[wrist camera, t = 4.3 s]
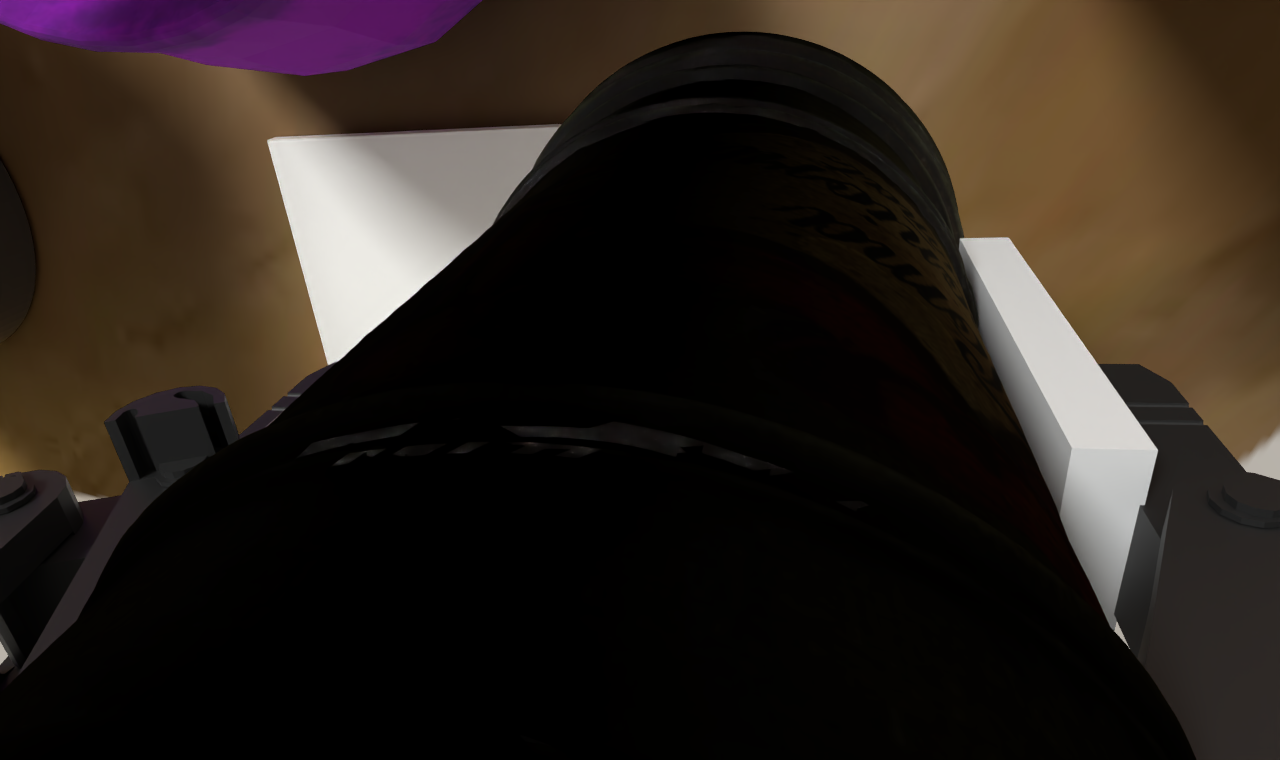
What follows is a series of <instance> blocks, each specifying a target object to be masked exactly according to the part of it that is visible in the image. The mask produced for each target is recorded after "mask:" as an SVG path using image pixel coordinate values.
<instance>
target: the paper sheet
mask: <svg viewBox="0 0 1280 760" xmlns="http://www.w3.org/2000/svg"><path fill="white" fill-rule="evenodd" d="M561 125H562V124H548V125H526V126H505V127H483V128H461V129H440V130H418V131H396V132H375V133H353V134H331V135H310V136H288V137H275V138H272V139H269V140H267V142H268V145H269V149H270V153H271V156H272V160H273V164H274V167H275V171H276V175H277V179H278V182H279V186H280V190H281V193H282V197H283V201H284V204H285V208H286V212H287V215H288V219H289V223H290V226H291V230H292V234H293V237H294V241H295V245H296V248H297V252H298V256H299V259H300V263H301V267H302V270H303V274H304V278H305V282H306V285H307V289H308V293H309V296H310V300H311V304H312V307H313V311H314V315H315V318H316V322H317V326H318V329H319V333H320V337H321V340H322V344H323V348H324V351H325V355H326V359H327V362H328V365H330V364H332V363H334V362H338V361H339V360H340V359H341V358H343V357H344V356H345V355H346V354H347V353H348V352H349V351H350V350H351V349H352V348H353V347H355V346H356V345H357V344H358V343H359V342H360V341H361V340H362V339H363V338H364V337H365V336H366V335H367V334H368V333H369V332H371V331H372V330H373V329H374V328H376V327H377V326H378V325H379V324H380V323H381V322H383V321H384V320H385V319H386V318H387V317H388V316H390V315H391V314H392V313H393V312H394V311H395V310H396V309H397V308H399V307H400V306H401V305H402V304H403V303H405V302H406V301H407V300H408V299H409V298H410V297H411V296H412V295H413V294H415V293H416V292H417V291H418V290H419V289H420V288H421V287H422V286H424V285H425V284H426V283H427V282H428V281H429V280H430V279H431V278H432V277H434V276H435V275H436V274H437V273H438V272H439V271H440V270H441V269H442V268H444V267H445V266H446V265H447V264H448V263H449V262H450V261H451V260H452V259H454V258H455V257H456V256H457V255H458V254H459V253H460V252H461V251H462V250H464V249H466V248H467V247H468V246H470V245H471V244H472V243H473V242H475V241H476V240H477V239H478V238H479V237H480V236H481V235H482V234H483V233H484V232H485V231H486V230H487V229H488V228H490V227H491V226H492V225H493V223H494V221H495V219H496V217H497V215H498V213H499V212H500V210H501V209H502V207H503V206H504V204H505V203H506V201H507V200H508V198H509V197H510V195H511V194H512V193H513V191H514V190H515V188H516V187H517V186H518V185H519V183H520V182H521V181H522V180H523V179H524V178H525V176H526V175H527V174H528V173H529V172H530V171H531V170H532V169H533V167H534V164H535V162H536V160H537V159H538V157H539V155H540V154H541V152H542V150H543V149H544V147H545V146H546V144H547V143H548V142H549V140H550V139H551V137H552V136H553V135H554V133H555V132H556V131H557V129H558V128H559V127H560V126H561Z"/></svg>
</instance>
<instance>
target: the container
mask: <svg viewBox="0 0 1280 760" xmlns="http://www.w3.org/2000/svg"><path fill="white" fill-rule="evenodd" d="M960 238H964V235H963V230H962V226H961V222H960V218H959V213H958V207H957V203H956V198H955V194H954V190H953V186H952V183H951V179H950V176H949V173H948V171H947V168H946V165H945V163H944V161H943V158H942V156H941V154H940V152H939V150H938V148H937V146H936V144H935V143H934V141H933V139H932V137H931V136H930V134H929V132H928V131H927V129H926V128H925V126H924V125H923V123H922V122H921V121H920V119H919V118H918V117H917V115H916V114H915V113H914V112H913V111H912V109H911V108H910V107H909V106H908V105H907V104H906V103H905V102H904V101H903V100H902V99H901V98H900V96H899V95H898V94H897V93H896V92H895V91H894V90H893V89H892V88H890V87H889V86H888V85H887V84H886V83H885V82H884V81H882V80H881V79H880V78H879V77H877V76H876V75H875V74H873V73H872V72H870V71H869V70H868V69H866V68H864V67H863V66H861V65H860V64H858V63H856V62H855V61H853V60H851V59H849V58H848V57H846V56H844V55H842V54H840V53H838V52H836V51H833V50H831V49H828V48H826V47H823V46H821V45H818V44H815V43H812V42H809V41H805V40H802V39H798V38H794V37H789V36H784V35H779V34H772V33H763V32H725V33H715V34H707V35H702V36H697V37H692V38H688V39H685V40H681V41H678V42H675V43H672V44H669V45H667V46H664V47H661V48H659V49H656V50H654V51H652V52H650V53H648V54H645V55H643V56H641V57H639V58H638V59H636V60H634V61H632V62H630V63H629V64H627V65H625V66H624V67H622V68H621V69H619V70H618V71H616V72H615V73H614V74H612V75H611V76H610V77H608V78H607V79H606V80H604V81H603V82H602V83H601V84H600V85H598V86H597V87H596V88H595V89H594V90H593V91H592V92H591V93H590V94H589V95H588V96H587V97H586V98H585V99H584V100H583V101H582V102H581V103H580V104H579V106H578V107H577V108H576V109H575V111H574V112H573V113H572V114H571V115H570V116H569V117H568V118H567V119H566V120H565V121H564V123H563V124H562V125H561V126H560V127H559V128H558V129H557V131H556V132H555V133H554V135H553V136H552V137H551V139H550V140H549V142H548V143H547V144H546V146H545V147H544V149H543V150H542V152H541V154H540V155H539V157H538V159H537V160H536V162H535V164H534V167H533V169H532V170H531V171H530V172H529V173H528V174H527V175H526V176H525V178H524V179H523V180H522V181H521V182H520V183H519V185H518V186H517V187H516V188H515V190H514V191H513V193H512V194H511V195H510V197H509V198H508V200H507V201H506V203H505V204H504V206H503V207H502V209H501V210H500V212H499V213H498V215H497V217H496V219H495V221H494V223H493V225H492V226H491V227H490V228H488V229H487V230H486V231H485V232H484V233H483V234H482V235H481V236H480V237H479V238H478V239H477V240H476V241H475V242H473V243H472V244H471V245H470V246H468V247H467V248H466V249H465V250H463V251H462V252H461V253H460V254H459V255H458V256H457V257H456V258H455V259H454V260H453V261H452V262H451V263H450V264H449V265H448V266H446V267H445V268H444V269H443V270H442V271H440V272H439V273H438V274H437V275H436V276H435V277H434V278H432V279H431V280H429V281H428V282H427V283H426V284H425V285H424V286H423V287H422V288H421V289H420V290H419V291H418V292H417V293H415V294H414V295H413V296H412V297H411V298H410V299H409V300H407V301H406V302H405V303H404V304H402V305H401V306H400V307H399V308H397V309H396V310H395V311H394V312H393V313H392V314H391V315H390V316H388V317H387V318H386V319H385V320H384V321H383V322H381V323H380V324H379V325H378V326H377V327H376V328H374V329H373V330H372V331H371V332H369V333H368V334H367V335H366V336H365V337H364V338H363V339H362V340H361V341H360V342H359V343H358V344H357V345H356V346H355V347H353V348H352V349H351V350H350V351H349V352H348V353H347V354H346V355H345V356H344V357H343V358H341V359H340V360H339V361H338V362H337V363H335V364H334V365H333V366H332V367H331V368H330V369H329V370H328V371H326V372H325V373H324V374H323V375H322V376H321V377H320V378H318V379H317V380H316V381H315V382H314V383H313V384H312V385H311V386H310V387H309V388H308V389H307V390H305V391H304V392H303V393H302V394H301V395H300V396H299V397H298V398H297V399H296V400H295V401H294V402H292V403H291V404H290V405H289V406H288V407H287V408H286V409H285V410H284V411H283V412H282V413H281V414H280V415H279V416H278V417H277V418H276V419H275V420H274V421H273V422H271V423H270V424H269V425H268V426H267V427H265V428H263V429H260V430H258V431H256V432H253V433H251V434H249V435H247V436H245V437H243V438H241V439H239V440H237V441H235V442H233V443H232V444H230V445H229V446H227V447H225V448H224V449H222V450H220V451H219V452H217V453H216V454H214V455H212V456H211V457H209V458H207V459H206V460H204V461H203V462H201V463H200V464H198V465H197V466H196V467H194V468H193V469H192V470H190V471H189V472H188V473H186V474H185V475H184V476H182V477H181V478H180V479H178V480H177V481H176V482H174V483H173V484H172V485H171V486H169V487H168V488H167V489H166V490H165V491H164V492H163V493H162V494H161V495H159V496H158V497H157V498H156V499H155V500H154V501H153V502H152V503H151V504H150V505H149V506H148V507H147V508H146V509H145V510H144V511H143V512H142V513H141V515H140V516H139V517H138V518H137V520H136V521H135V522H134V523H133V524H132V525H131V526H130V527H129V528H128V529H127V531H126V532H125V533H124V535H123V536H122V537H121V539H120V541H119V542H118V544H117V546H116V547H115V549H114V551H113V553H112V554H111V556H110V558H109V560H108V562H107V564H106V565H105V567H104V569H103V571H102V573H101V575H100V577H99V579H98V581H97V584H96V586H95V588H94V590H93V592H92V594H91V595H90V597H89V599H88V601H87V602H86V604H85V606H84V607H83V609H82V611H81V613H80V615H79V617H78V619H77V620H76V621H75V622H74V623H73V624H72V625H71V626H70V627H69V628H68V629H67V630H66V631H65V632H64V633H63V634H62V635H61V636H59V637H58V638H57V639H56V640H55V641H54V642H53V643H52V644H51V645H50V646H49V647H48V648H47V649H46V650H45V651H44V652H43V653H42V654H40V655H39V656H38V657H37V658H36V659H35V660H34V661H33V662H32V663H31V664H29V665H28V666H27V667H26V668H25V669H24V670H23V671H22V672H21V673H20V674H19V675H18V676H17V677H16V678H15V679H14V680H13V681H12V682H11V683H10V684H9V685H8V686H7V687H6V688H5V689H4V690H3V691H1V692H0V760H1197V759H1196V757H1195V755H1194V752H1193V750H1192V748H1191V745H1190V743H1189V741H1188V739H1187V737H1186V735H1185V732H1184V730H1183V728H1182V726H1181V724H1180V723H1179V721H1178V719H1177V717H1176V715H1175V714H1174V712H1173V710H1172V709H1171V707H1170V706H1169V704H1168V703H1167V701H1166V699H1165V698H1164V696H1163V694H1162V693H1161V691H1160V690H1159V688H1158V686H1157V685H1156V683H1155V682H1154V680H1153V679H1152V677H1151V676H1150V674H1149V673H1148V672H1147V670H1146V669H1145V668H1144V667H1143V665H1142V664H1141V663H1140V662H1139V660H1138V659H1137V658H1136V656H1135V655H1134V654H1133V653H1132V651H1131V650H1130V649H1129V647H1128V646H1127V645H1126V644H1125V643H1124V642H1123V641H1122V639H1121V638H1120V637H1119V636H1118V635H1117V634H1116V633H1115V632H1114V630H1113V629H1112V628H1111V627H1110V625H1109V623H1108V621H1107V618H1106V616H1105V614H1104V612H1103V610H1102V607H1101V605H1100V603H1099V601H1098V599H1097V596H1096V594H1095V592H1094V590H1093V588H1092V586H1091V584H1090V582H1089V580H1088V578H1087V576H1086V574H1085V572H1084V570H1083V568H1082V566H1081V564H1080V562H1079V560H1078V558H1077V556H1076V554H1075V552H1074V550H1073V548H1072V546H1071V544H1070V542H1069V540H1068V537H1067V534H1066V531H1065V529H1064V526H1063V524H1062V521H1061V518H1060V516H1059V513H1058V510H1057V507H1056V505H1055V502H1054V500H1053V498H1052V496H1051V493H1050V491H1049V489H1048V487H1047V485H1046V482H1045V480H1044V478H1043V476H1042V474H1041V472H1040V470H1039V467H1038V464H1037V462H1036V460H1035V457H1034V455H1033V453H1032V451H1031V448H1030V446H1029V444H1028V442H1027V440H1026V437H1025V435H1024V432H1023V430H1022V427H1021V425H1020V423H1019V420H1018V418H1017V416H1016V414H1015V412H1014V410H1013V408H1012V406H1011V403H1010V401H1009V399H1008V397H1007V395H1006V392H1005V390H1004V388H1003V385H1002V383H1001V381H1000V379H999V376H998V374H997V372H996V369H995V367H994V365H993V362H992V360H991V357H990V355H989V353H988V352H987V350H986V347H985V345H984V343H983V340H982V338H981V335H980V333H979V330H978V317H977V309H976V303H975V298H974V293H973V290H972V286H971V284H970V282H969V280H968V278H967V275H966V272H965V266H964V263H963V259H962V256H961V254H960V251H959V243H960Z"/></svg>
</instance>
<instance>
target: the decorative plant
mask: <svg viewBox="0 0 1280 760" xmlns="http://www.w3.org/2000/svg"><path fill="white" fill-rule="evenodd" d="M481 1H482V0H0V24H3V25H5V26H8V27H10V28H13V29H15V30H18V31H20V32H23V33H25V34H28V35H30V36H33V37H35V38H38V39H40V40H44V41H48V42H53V43H58V44H63V45H67V46H72V47H77V48H82V49H86V50H91V51H96V52H142V53H162V54H166V55H170V56H174V57H178V58H182V59H186V60H190V61H194V62H198V63H201V64H205V65H212V66H221V67H230V68H239V69H248V70H257V71H266V72H275V73H284V74H293V75H302V76H308V75H315V74H323V73H331V72H339V71H346V70H350V69H353V68H357V67H360V66H363V65H366V64H369V63H372V62H375V61H378V60H381V59H384V58H387V57H390V56H394V55H397V54H400V53H403V52H406V51H409V50H412V49H415V48H418V47H421V46H424V45H428V44H431V43H434V42H436V41H437V40H438V39H439V38H441V37H442V36H443V35H444V34H445V33H446V32H447V31H448V30H450V29H451V28H452V27H453V26H454V25H455V24H456V23H457V22H459V21H460V20H461V19H462V18H463V17H464V16H465V15H466V14H468V13H469V12H470V11H471V10H472V9H473V8H474V7H476V6H477V5H478V4H479V3H480V2H481Z"/></svg>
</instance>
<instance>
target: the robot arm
mask: <svg viewBox="0 0 1280 760" xmlns="http://www.w3.org/2000/svg"><path fill="white" fill-rule="evenodd" d="M464 250H465V249H464ZM462 251H463V250H462ZM462 251H461V252H462ZM959 251H960V254H961V256H962V259H963V263H964V266H965V272H966V275H967V278H968V280H969V282H970V284H971V286H972V290H973V293H974V298H975V303H976V309H977V317H978V330H979V333H980V335H981V338H982V340H983V343H984V345H985V347H986V350H987V352H988V353H989V355H990V357H991V360H992V362H993V365H994V367H995V369H996V372H997V374H998V376H999V379H1000V381H1001V383H1002V385H1003V388H1004V390H1005V392H1006V395H1007V397H1008V399H1009V401H1010V403H1011V406H1012V408H1013V410H1014V412H1015V414H1016V416H1017V418H1018V420H1019V423H1020V425H1021V427H1022V430H1023V432H1024V435H1025V437H1026V440H1027V442H1028V444H1029V446H1030V448H1031V451H1032V453H1033V455H1034V457H1035V460H1036V462H1037V464H1038V467H1039V470H1040V472H1041V474H1042V476H1043V478H1044V480H1045V482H1046V485H1047V487H1048V489H1049V491H1050V493H1051V496H1052V498H1053V500H1054V502H1055V505H1056V507H1057V510H1058V513H1059V516H1060V518H1061V521H1062V524H1063V526H1064V529H1065V531H1066V534H1067V537H1068V540H1069V542H1070V544H1071V546H1072V548H1073V550H1074V552H1075V554H1076V556H1077V558H1078V560H1079V562H1080V564H1081V566H1082V568H1083V570H1084V572H1085V574H1086V576H1087V578H1088V580H1089V582H1090V584H1091V586H1092V588H1093V590H1094V592H1095V594H1096V596H1097V599H1098V601H1099V603H1100V605H1101V607H1102V610H1103V612H1104V614H1105V616H1106V618H1107V621H1108V623H1109V625H1110V627H1111V628H1112V629H1113V630H1115V625H1116V622H1118V624H1119V626H1120V628H1121V631H1122V633H1123V635H1124V637H1125V639H1126V641H1127V643H1128V646H1129V648H1130V650H1131V651H1132V653H1133V654H1134V655H1135V656H1136V658H1137V659H1138V660H1139V662H1140V663H1141V664H1142V665H1143V667H1144V668H1145V669H1146V670H1147V672H1148V673H1149V674H1150V676H1151V677H1152V679H1153V680H1154V682H1155V683H1156V685H1157V686H1158V688H1159V690H1160V691H1161V693H1162V694H1163V696H1164V698H1165V699H1166V701H1167V703H1168V704H1169V706H1170V707H1171V709H1172V710H1173V712H1174V714H1175V715H1176V717H1177V719H1178V721H1179V723H1180V724H1181V726H1182V728H1183V730H1184V732H1185V735H1186V737H1187V739H1188V741H1189V743H1190V745H1191V748H1192V750H1193V752H1194V755H1195V757H1196V759H1197V760H1280V480H1276V479H1273V478H1269V477H1266V476H1262V475H1259V474H1256V473H1249V472H1246V471H1245V470H1244V468H1243V467H1242V466H1241V465H1240V464H1239V462H1238V461H1237V460H1236V459H1235V458H1234V457H1233V455H1232V454H1231V453H1230V452H1229V451H1228V449H1227V448H1226V447H1225V446H1224V445H1223V443H1222V442H1221V441H1220V440H1219V439H1218V438H1217V436H1216V435H1215V434H1214V433H1213V432H1212V430H1211V429H1210V428H1209V427H1208V426H1207V425H1203V420H1202V419H1201V417H1200V416H1199V415H1198V414H1197V413H1196V411H1195V410H1194V409H1193V408H1189V403H1188V402H1187V401H1186V400H1185V398H1184V397H1183V396H1182V395H1181V394H1180V392H1179V391H1178V390H1177V389H1176V388H1175V386H1174V385H1173V384H1172V383H1171V382H1169V381H1168V380H1166V379H1164V378H1162V377H1161V376H1159V375H1157V374H1155V373H1153V372H1152V371H1150V370H1148V369H1146V368H1145V367H1143V366H1141V365H1139V364H1097V363H1096V361H1095V360H1094V358H1093V357H1092V356H1091V354H1090V353H1089V351H1088V350H1087V348H1086V347H1085V346H1084V344H1083V343H1082V341H1081V340H1080V338H1079V337H1078V336H1077V334H1076V333H1075V331H1074V330H1073V328H1072V327H1071V326H1070V324H1069V323H1068V321H1067V320H1066V319H1065V317H1064V316H1063V314H1062V313H1061V311H1060V310H1059V309H1058V307H1057V306H1056V304H1055V303H1054V301H1053V300H1052V299H1051V297H1050V296H1049V294H1048V293H1047V291H1046V290H1045V289H1044V287H1043V286H1042V284H1041V283H1040V282H1039V280H1038V279H1037V277H1036V276H1035V274H1034V273H1033V272H1032V270H1031V269H1030V267H1029V266H1028V264H1027V263H1026V262H1025V260H1024V259H1023V257H1022V256H1021V254H1020V253H1019V252H1018V250H1017V249H1016V247H1015V246H1014V245H1013V243H1012V242H1011V240H1010V239H1009V237H1007V238H960V243H959ZM461 252H460V253H461ZM460 253H459V254H460ZM459 254H458V255H459ZM458 255H457V256H458ZM457 256H456V257H457ZM456 257H455V258H456ZM455 258H454V259H455ZM454 259H452V260H451V261H450V262H449V263H448V264H447V265H446V266H448V265H449V264H450V263H451V262H452V261H453V260H454ZM446 266H445V267H446ZM445 267H444V268H445ZM444 268H442V269H441V270H440V271H442V270H443V269H444ZM440 271H439V272H440ZM439 272H438V273H439ZM438 273H437V274H438ZM437 274H436V275H437ZM35 275H36V266H35V253H34V246H33V240H32V235H31V231H30V227H29V223H28V220H27V217H26V214H25V211H24V208H23V206H22V203H21V200H20V198H19V195H18V193H17V191H16V189H15V187H14V184H13V182H12V180H11V178H10V176H9V175H8V173H7V171H6V169H5V167H4V166H3V164H2V162H1V160H0V343H1V342H3V341H4V340H6V339H7V338H8V337H9V336H11V335H12V334H13V333H14V332H15V331H16V330H17V328H18V327H19V326H20V324H21V323H22V321H23V320H24V318H25V316H26V314H27V312H28V310H29V307H30V304H31V301H32V297H33V293H34V287H35ZM436 275H435V276H436ZM435 276H434V277H435ZM434 277H432V278H434ZM432 278H431V279H432ZM431 279H430V280H431ZM422 287H423V286H422ZM422 287H421V288H422ZM421 288H420V289H421ZM420 289H419V290H420ZM419 290H418V291H419ZM418 291H417V292H418ZM417 292H416V293H417ZM413 295H414V294H413ZM413 295H412V296H413ZM412 296H411V297H412ZM411 297H410V298H411ZM410 298H409V299H410ZM409 299H408V300H409ZM403 304H404V303H403ZM335 363H337V362H334V363H332V364H330V365H328V366H326V367H324V368H322V369H320V370H318V371H316V372H314V373H312V374H310V375H308V376H307V377H305V378H304V379H303V380H302V381H301V382H300V383H299V384H297V385H296V386H295V387H294V388H293V389H292V390H291V391H289V392H288V396H284V397H282V398H281V399H280V400H279V401H278V402H277V403H276V404H274V405H273V406H272V410H268V411H266V412H265V413H264V414H263V415H262V416H261V417H259V418H258V419H257V420H256V421H255V422H254V423H253V424H251V425H250V426H249V427H248V428H247V429H246V430H245V431H243V432H242V433H241V434H240V435H239V434H238V431H237V428H236V425H235V422H234V419H233V416H232V413H231V411H230V408H229V405H228V402H227V399H226V396H225V393H223V392H222V391H220V390H219V389H217V388H214V387H206V386H191V387H180V388H175V389H171V390H167V391H162V392H158V393H155V394H152V395H149V396H147V397H144V398H141V399H139V400H136V401H134V402H132V403H130V404H128V405H126V406H125V407H123V408H121V409H119V410H117V411H116V412H114V413H113V414H112V415H111V416H110V417H109V418H108V419H107V420H106V421H105V422H104V424H105V426H106V428H107V431H108V433H109V435H110V438H111V440H112V442H113V445H114V447H115V449H116V452H117V454H118V456H119V459H120V461H121V463H122V466H123V468H124V470H125V473H126V475H127V477H128V480H129V483H128V485H127V487H126V488H125V490H124V492H123V494H122V495H121V496H114V497H108V498H101V499H95V500H88V501H82V502H78V501H77V499H76V497H75V495H74V493H73V491H72V489H71V486H70V484H69V482H68V480H67V478H66V476H64V475H63V474H61V473H59V472H57V471H49V470H36V471H30V472H23V473H21V472H15V473H10V474H6V475H5V477H4V478H3V477H2V476H0V642H1V643H2V645H3V647H4V649H5V650H6V652H7V653H8V657H7V658H6V659H5V660H4V661H3V663H2V664H1V665H0V692H1V691H3V690H4V689H5V688H6V687H7V686H8V685H9V684H10V683H11V682H12V681H13V680H14V679H15V678H16V677H17V676H18V675H19V674H20V673H21V672H22V671H23V670H24V669H25V668H26V667H27V666H28V665H29V664H31V663H32V662H33V661H34V660H35V659H36V658H37V657H38V656H39V655H40V654H42V653H43V652H44V651H45V650H46V649H47V648H48V647H49V646H50V645H51V644H52V643H53V642H54V641H55V640H56V639H57V638H58V637H59V636H61V635H62V634H63V633H64V632H65V631H66V630H67V629H68V628H69V627H70V626H71V625H72V624H73V623H74V622H75V621H76V620H77V619H78V617H79V615H80V613H81V611H82V609H83V607H84V606H85V604H86V602H87V601H88V599H89V597H90V595H91V594H92V592H93V590H94V588H95V586H96V584H97V581H98V579H99V577H100V575H101V573H102V571H103V569H104V567H105V565H106V564H107V562H108V560H109V558H110V556H111V554H112V553H113V551H114V549H115V547H116V546H117V544H118V542H119V541H120V539H121V537H122V536H123V535H124V533H125V532H126V531H127V529H128V528H129V527H130V526H131V525H132V524H133V523H134V522H135V521H136V520H137V518H138V517H139V516H140V515H141V513H142V512H143V511H144V510H145V509H146V508H147V507H148V506H149V505H150V504H151V503H152V502H153V501H154V500H155V499H156V498H157V497H158V496H159V495H161V494H162V493H163V492H164V491H165V490H166V489H167V488H168V487H169V486H171V485H172V484H173V483H174V482H176V481H177V480H178V479H180V478H181V477H182V476H184V475H185V474H186V473H188V472H189V471H190V470H192V469H193V468H194V467H196V466H197V465H198V464H200V463H201V462H203V461H204V460H206V459H207V458H209V457H211V456H212V455H214V454H216V453H217V452H219V451H220V450H222V449H224V448H225V447H227V446H229V445H230V444H232V443H233V442H235V441H237V440H239V439H241V438H243V437H245V436H247V435H249V434H251V433H253V432H256V431H258V430H260V429H263V428H265V427H267V426H268V425H269V424H270V423H271V422H273V421H274V420H275V419H276V418H277V417H278V416H279V415H280V414H281V413H282V412H283V411H284V410H285V409H286V408H287V407H288V406H289V405H290V404H291V403H292V402H294V401H295V400H296V399H297V398H298V397H299V396H300V395H301V394H302V393H303V392H304V391H305V390H307V389H308V388H309V387H310V386H311V385H312V384H313V383H314V382H315V381H316V380H317V379H318V378H320V377H321V376H322V375H323V374H324V373H325V372H326V371H328V370H329V369H330V368H331V367H332V366H333V365H334V364H335Z"/></svg>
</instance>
